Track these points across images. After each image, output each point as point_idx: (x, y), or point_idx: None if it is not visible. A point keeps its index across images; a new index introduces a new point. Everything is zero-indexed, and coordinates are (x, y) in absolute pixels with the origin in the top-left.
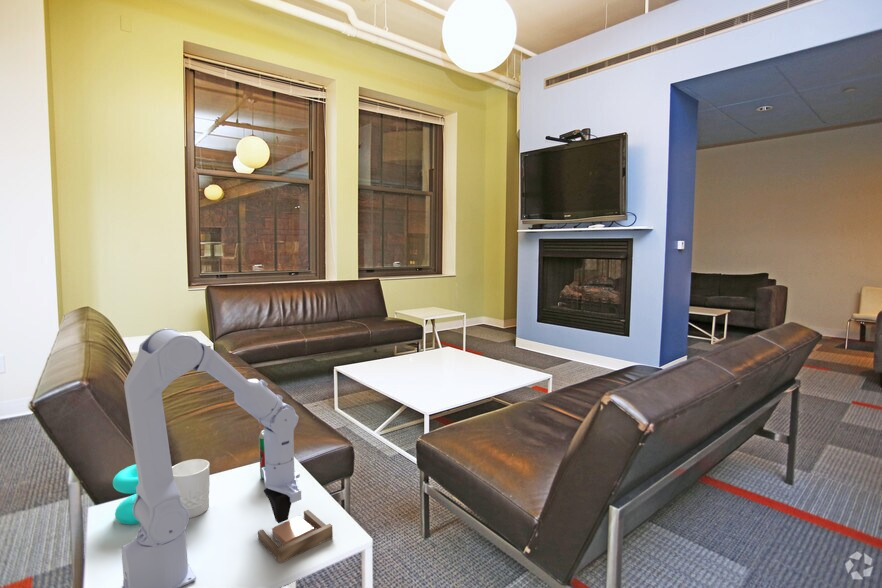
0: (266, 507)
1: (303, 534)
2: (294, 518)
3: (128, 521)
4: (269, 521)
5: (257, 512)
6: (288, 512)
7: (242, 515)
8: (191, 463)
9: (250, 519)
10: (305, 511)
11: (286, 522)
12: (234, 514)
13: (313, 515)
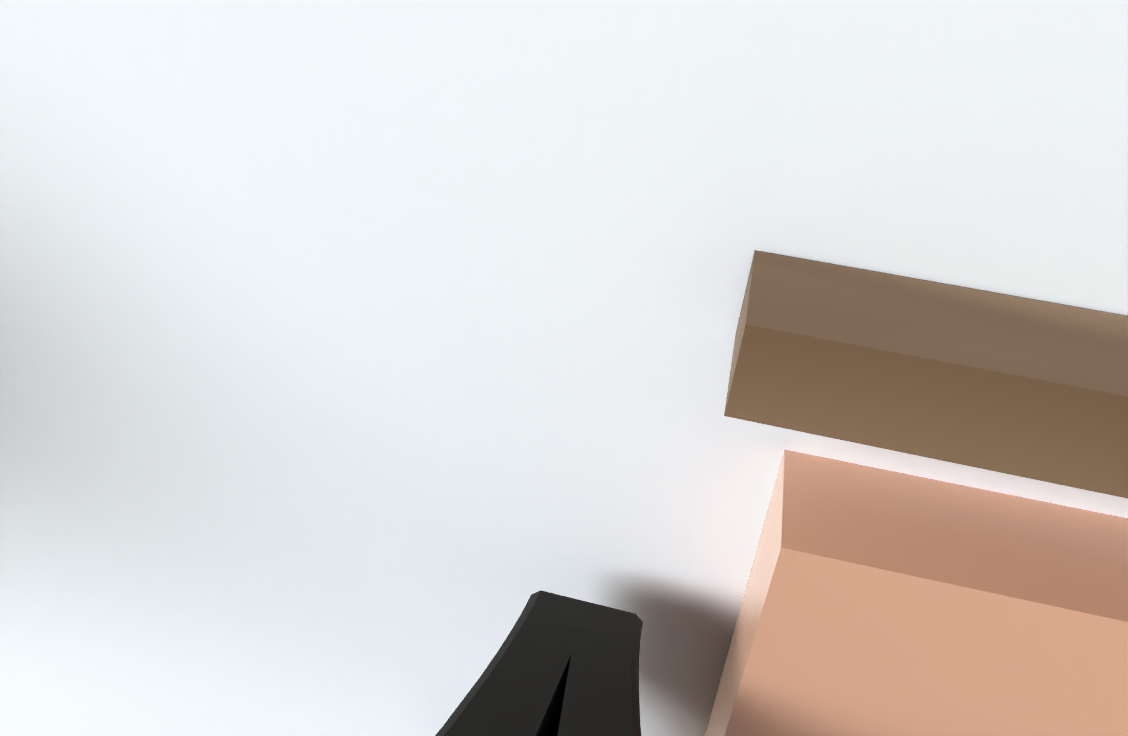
0: (45, 442)
1: None
2: (770, 628)
3: None
4: (396, 608)
5: (107, 555)
6: (639, 732)
7: (84, 648)
8: None
9: (211, 661)
10: (751, 394)
11: (750, 733)
12: (24, 665)
13: (1072, 412)
